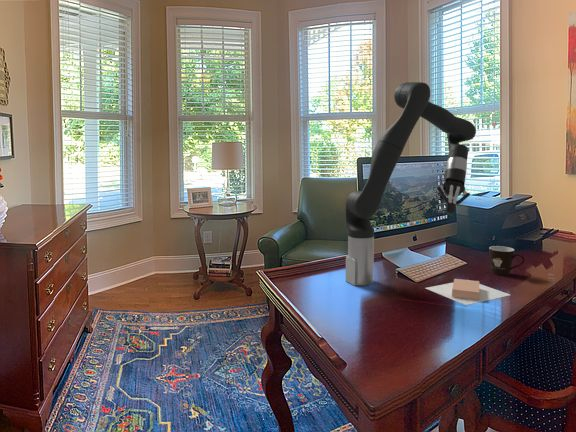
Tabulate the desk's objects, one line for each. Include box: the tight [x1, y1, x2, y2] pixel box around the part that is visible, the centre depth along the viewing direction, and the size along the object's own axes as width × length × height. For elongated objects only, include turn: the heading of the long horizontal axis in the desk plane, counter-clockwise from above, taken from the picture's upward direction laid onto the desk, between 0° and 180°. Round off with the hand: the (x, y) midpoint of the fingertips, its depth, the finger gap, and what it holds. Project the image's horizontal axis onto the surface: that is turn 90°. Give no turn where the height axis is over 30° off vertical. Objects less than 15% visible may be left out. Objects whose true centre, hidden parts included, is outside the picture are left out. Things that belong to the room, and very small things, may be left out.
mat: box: [425, 282, 511, 307], centre depth 146 cm, size 20×18×1 cm
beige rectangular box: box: [452, 278, 480, 300], centre depth 144 cm, size 3×8×12 cm
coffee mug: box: [488, 245, 525, 277], centre depth 163 cm, size 12×9×10 cm
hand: (449, 213), depth 162 cm, fingers closed
